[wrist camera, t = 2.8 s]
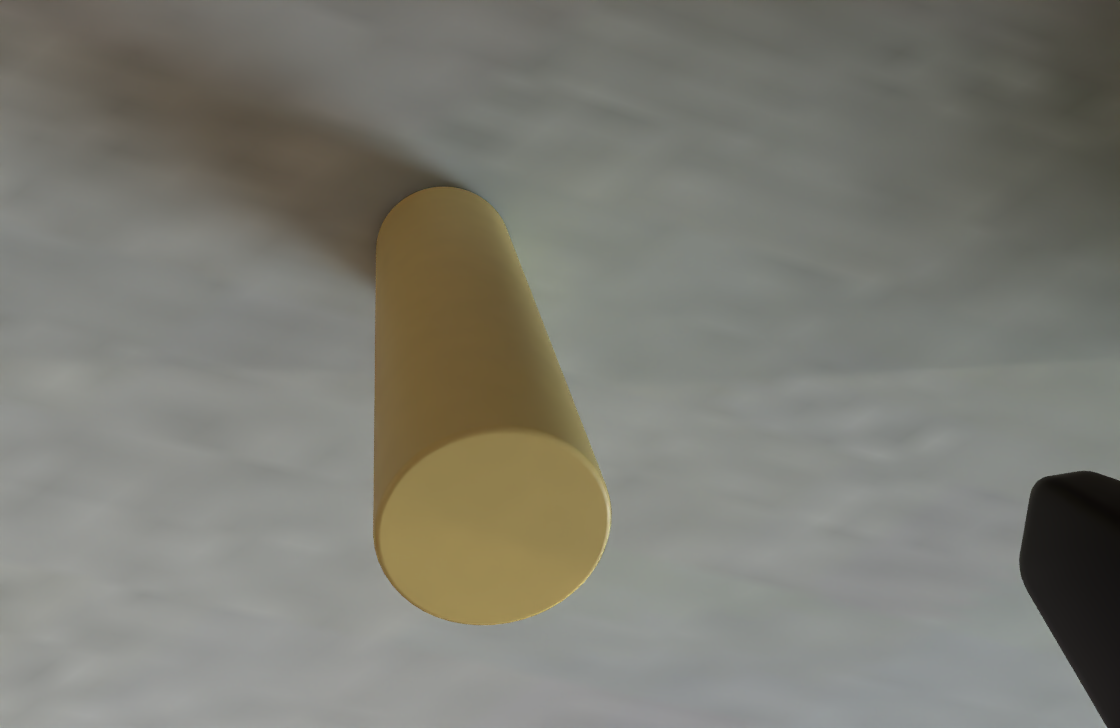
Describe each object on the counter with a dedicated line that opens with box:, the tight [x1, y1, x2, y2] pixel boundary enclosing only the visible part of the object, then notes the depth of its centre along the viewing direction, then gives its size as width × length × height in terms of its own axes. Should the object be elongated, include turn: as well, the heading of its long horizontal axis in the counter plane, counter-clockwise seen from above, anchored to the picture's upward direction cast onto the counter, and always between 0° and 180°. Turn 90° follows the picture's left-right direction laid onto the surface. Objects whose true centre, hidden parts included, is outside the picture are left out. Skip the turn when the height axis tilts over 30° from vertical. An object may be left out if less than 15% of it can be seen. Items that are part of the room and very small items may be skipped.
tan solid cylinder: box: [373, 187, 611, 625], centre depth 12 cm, size 2×2×8 cm
